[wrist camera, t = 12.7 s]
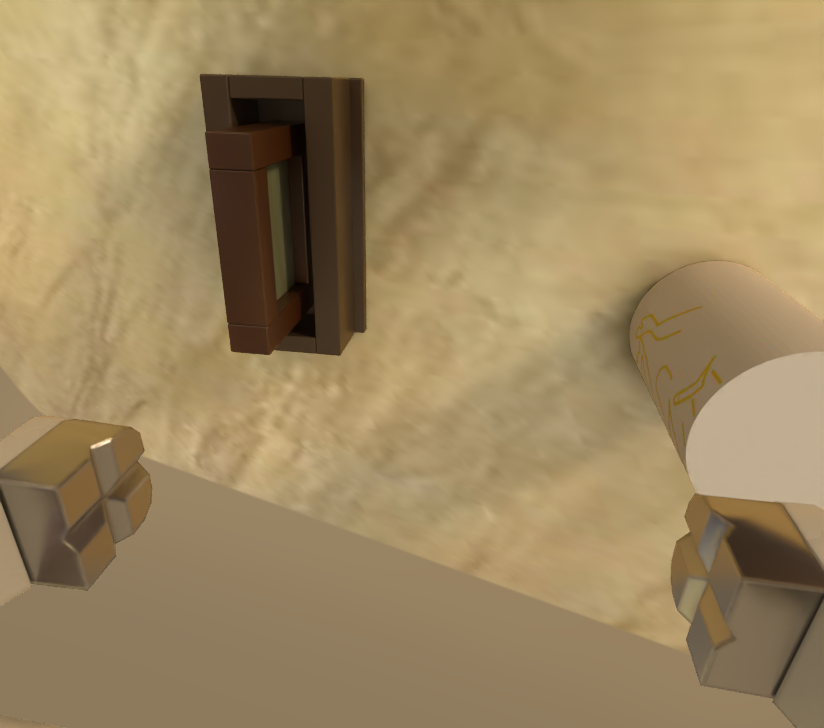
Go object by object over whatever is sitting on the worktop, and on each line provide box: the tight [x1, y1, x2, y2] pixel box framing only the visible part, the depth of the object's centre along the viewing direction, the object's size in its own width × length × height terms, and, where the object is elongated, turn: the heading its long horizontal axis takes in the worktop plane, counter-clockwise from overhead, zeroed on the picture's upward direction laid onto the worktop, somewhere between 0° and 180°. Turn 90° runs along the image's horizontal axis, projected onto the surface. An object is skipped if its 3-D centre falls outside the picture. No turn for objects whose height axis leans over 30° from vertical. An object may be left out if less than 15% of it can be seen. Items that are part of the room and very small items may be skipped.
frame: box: [205, 121, 314, 355], centre depth 30 cm, size 2×10×8 cm, turn 179°
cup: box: [629, 261, 824, 510], centre depth 28 cm, size 8×8×12 cm
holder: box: [200, 74, 366, 356], centre depth 32 cm, size 8×14×4 cm, turn 179°
